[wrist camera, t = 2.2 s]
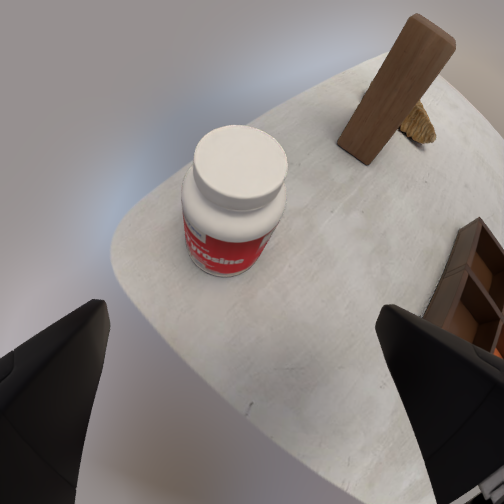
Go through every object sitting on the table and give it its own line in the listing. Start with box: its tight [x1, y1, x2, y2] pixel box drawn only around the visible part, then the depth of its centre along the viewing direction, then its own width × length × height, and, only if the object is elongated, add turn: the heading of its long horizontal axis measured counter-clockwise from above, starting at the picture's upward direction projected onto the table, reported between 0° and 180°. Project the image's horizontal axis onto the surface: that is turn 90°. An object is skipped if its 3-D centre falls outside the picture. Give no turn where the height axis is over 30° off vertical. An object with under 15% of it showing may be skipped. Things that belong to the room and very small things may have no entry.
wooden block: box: [337, 13, 456, 165], centre depth 23 cm, size 9×4×18 cm, turn 145°
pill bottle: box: [181, 125, 288, 277], centre depth 19 cm, size 6×6×11 cm
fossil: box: [370, 79, 436, 144], centre depth 33 cm, size 12×6×9 cm
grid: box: [423, 217, 504, 359], centre depth 23 cm, size 17×17×4 cm
